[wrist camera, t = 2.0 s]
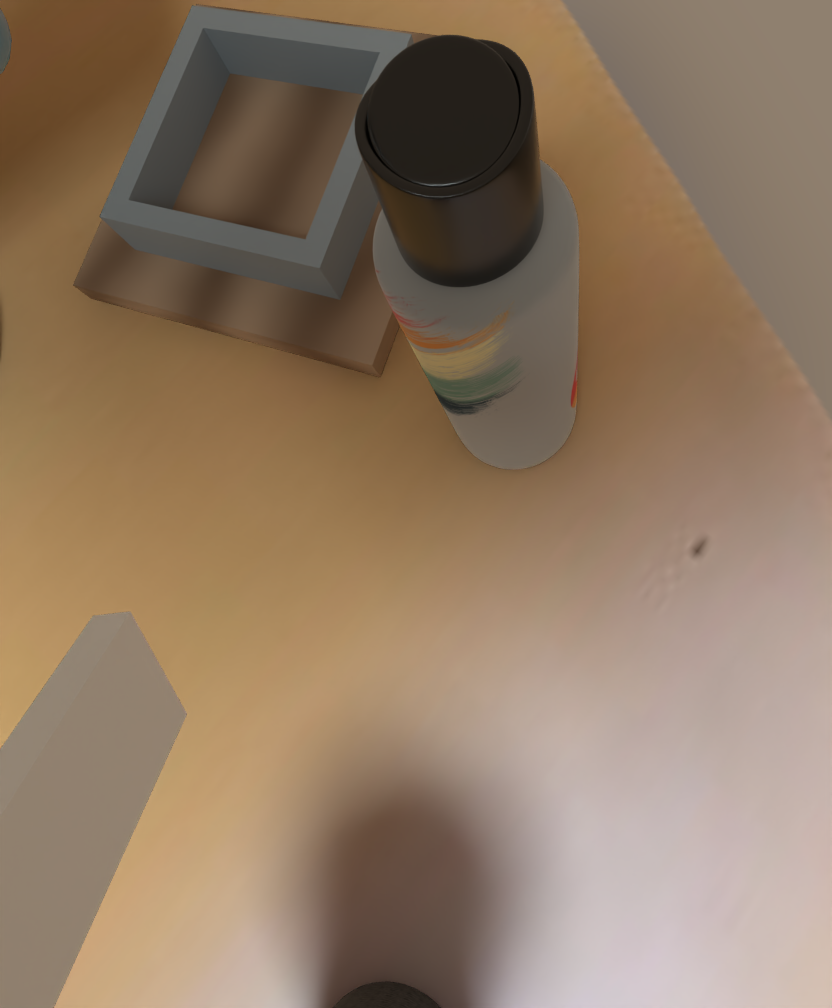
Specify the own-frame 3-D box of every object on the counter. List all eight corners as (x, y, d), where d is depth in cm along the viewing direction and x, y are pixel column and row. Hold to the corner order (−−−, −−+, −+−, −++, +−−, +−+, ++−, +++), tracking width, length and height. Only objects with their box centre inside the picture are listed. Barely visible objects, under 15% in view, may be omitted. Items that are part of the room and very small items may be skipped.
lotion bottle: (553, 340, 34) (527, -66, 15) (594, 448, 32) (625, 153, 13) (440, 381, 35) (278, 47, 16) (476, 489, 33) (344, 265, 14)
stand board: (90, 298, 40) (73, 285, 39) (209, 26, 42) (196, 4, 41) (380, 377, 35) (372, 365, 34) (496, 66, 38) (493, 42, 36)
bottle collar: (134, 249, 38) (99, 216, 36) (219, 51, 40) (192, 5, 37) (340, 299, 35) (319, 268, 32) (423, 82, 37) (411, 34, 34)
